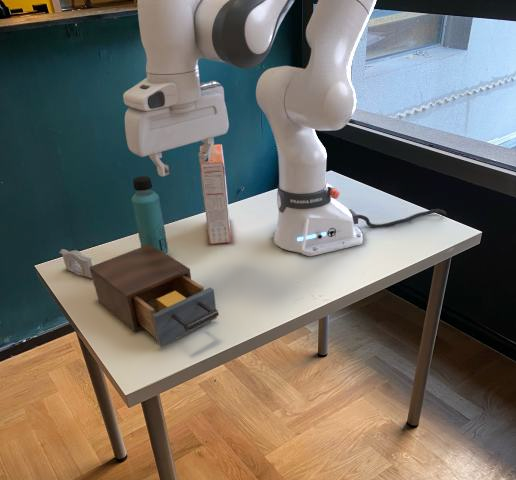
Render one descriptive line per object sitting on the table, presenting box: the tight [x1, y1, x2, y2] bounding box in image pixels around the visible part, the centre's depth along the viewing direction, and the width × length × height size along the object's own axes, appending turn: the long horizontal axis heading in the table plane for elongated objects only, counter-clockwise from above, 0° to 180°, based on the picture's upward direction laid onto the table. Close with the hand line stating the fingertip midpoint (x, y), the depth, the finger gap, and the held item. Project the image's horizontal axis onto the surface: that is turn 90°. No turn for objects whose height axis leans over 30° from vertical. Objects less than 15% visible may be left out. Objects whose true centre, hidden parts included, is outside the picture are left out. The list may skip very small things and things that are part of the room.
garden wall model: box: [59, 249, 93, 279], centre depth 119 cm, size 12×2×6 cm, turn 58°
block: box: [157, 291, 186, 311], centre depth 101 cm, size 4×4×4 cm
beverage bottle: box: [131, 175, 169, 255], centre depth 120 cm, size 6×7×20 cm
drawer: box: [131, 275, 220, 347], centre depth 101 cm, size 20×13×7 cm
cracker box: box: [199, 143, 232, 245], centre depth 130 cm, size 14×6×21 cm, turn 5°
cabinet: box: [89, 244, 192, 333], centre depth 108 cm, size 16×15×9 cm
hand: (184, 168), depth 97 cm, fingers open, 8 cm apart
